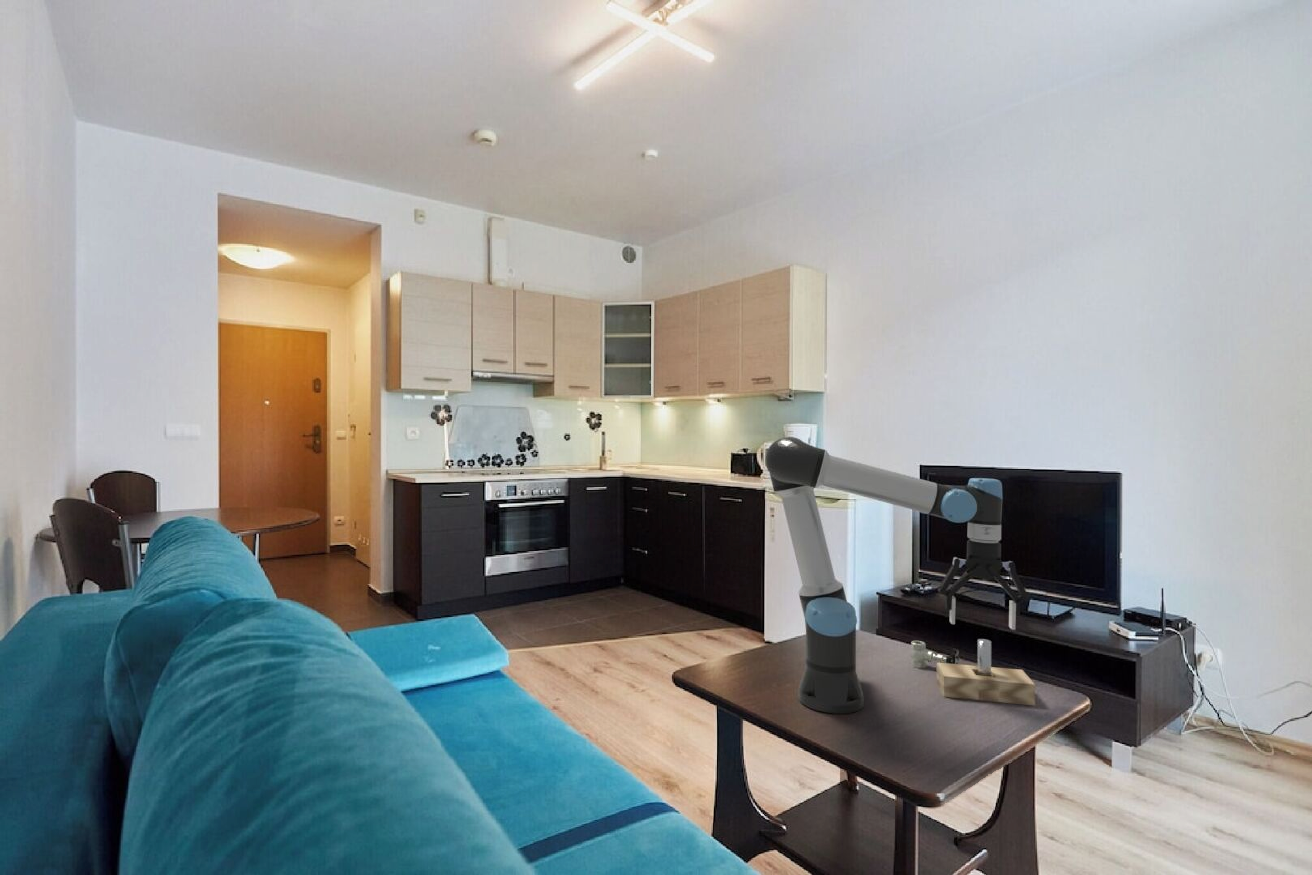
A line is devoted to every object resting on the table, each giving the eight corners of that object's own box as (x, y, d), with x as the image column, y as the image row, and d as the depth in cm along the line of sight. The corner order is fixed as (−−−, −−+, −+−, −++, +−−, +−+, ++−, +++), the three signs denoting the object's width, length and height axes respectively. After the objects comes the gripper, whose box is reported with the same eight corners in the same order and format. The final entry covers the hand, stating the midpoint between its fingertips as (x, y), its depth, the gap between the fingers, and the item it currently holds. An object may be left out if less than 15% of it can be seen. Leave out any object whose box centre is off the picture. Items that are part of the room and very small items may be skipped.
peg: (979, 694, 157) (979, 642, 157) (976, 690, 160) (976, 638, 160) (992, 696, 156) (992, 643, 156) (989, 691, 159) (989, 639, 159)
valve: (907, 668, 176) (954, 677, 169) (907, 644, 176) (954, 652, 169) (913, 661, 181) (959, 670, 174) (913, 638, 181) (959, 646, 174)
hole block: (943, 696, 156) (943, 676, 156) (936, 681, 165) (936, 662, 165) (1035, 705, 151) (1035, 684, 151) (1022, 689, 160) (1022, 669, 160)
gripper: (932, 539, 158) (930, 624, 158) (1045, 546, 151) (1042, 635, 151) (927, 535, 165) (925, 616, 165) (1034, 541, 159) (1032, 626, 159)
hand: (981, 625), depth 158 cm, fingers open, 13 cm apart
